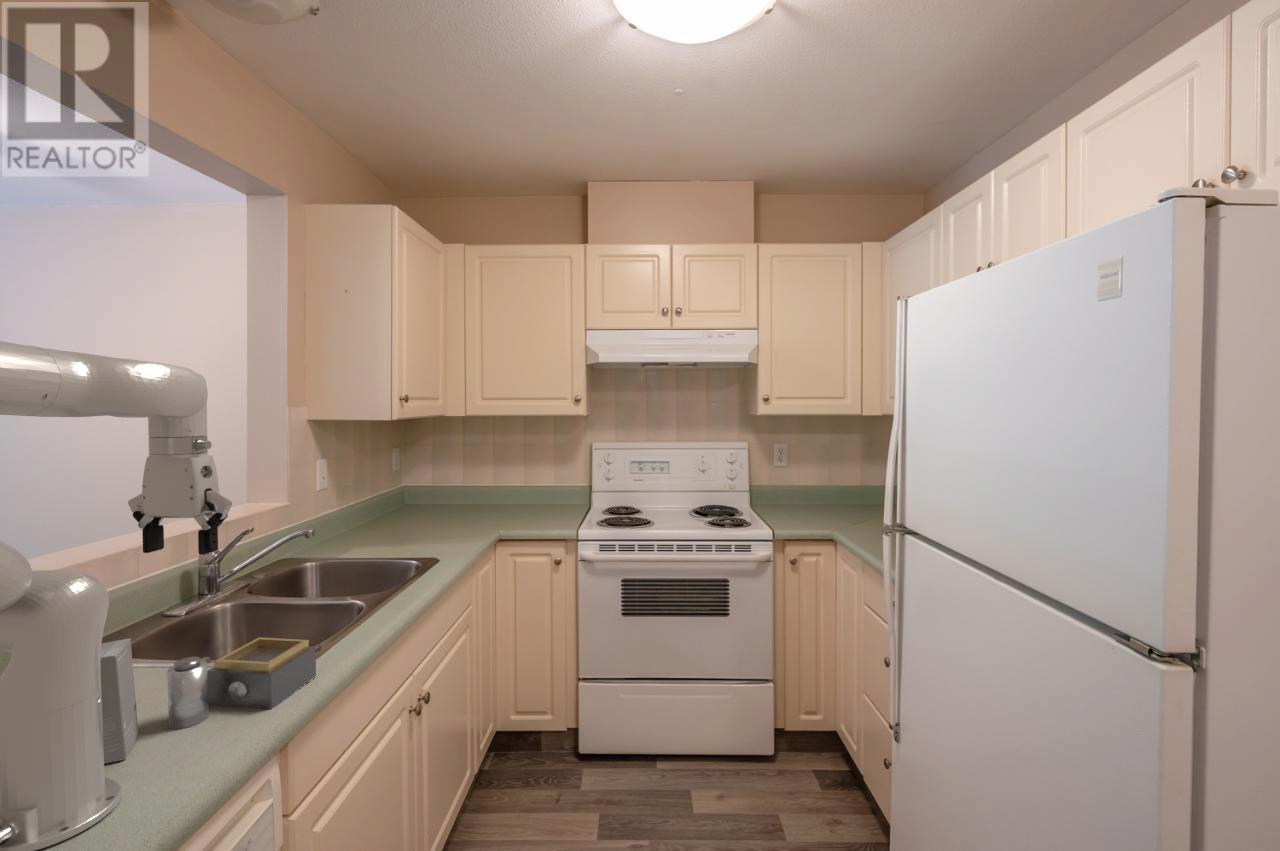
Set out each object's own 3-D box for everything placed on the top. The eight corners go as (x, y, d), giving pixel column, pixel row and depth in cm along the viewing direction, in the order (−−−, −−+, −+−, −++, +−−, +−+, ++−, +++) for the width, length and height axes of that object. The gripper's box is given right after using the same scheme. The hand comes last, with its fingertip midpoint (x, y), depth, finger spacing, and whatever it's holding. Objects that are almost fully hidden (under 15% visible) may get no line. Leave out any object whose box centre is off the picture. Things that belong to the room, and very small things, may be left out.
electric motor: (189, 730, 93) (187, 669, 93) (160, 728, 94) (158, 667, 93) (222, 708, 100) (221, 651, 99) (195, 707, 100) (193, 650, 100)
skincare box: (126, 761, 85) (122, 655, 85) (60, 776, 82) (55, 666, 81) (141, 732, 93) (137, 634, 92) (80, 745, 89) (77, 643, 88)
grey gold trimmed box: (269, 710, 99) (268, 667, 99) (205, 706, 100) (204, 663, 100) (316, 677, 111) (315, 638, 111) (258, 673, 112) (257, 635, 112)
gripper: (246, 446, 98) (247, 547, 98) (151, 445, 99) (153, 545, 100) (209, 450, 90) (211, 559, 91) (107, 448, 92) (109, 556, 92)
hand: (180, 551), depth 95 cm, fingers open, 9 cm apart
